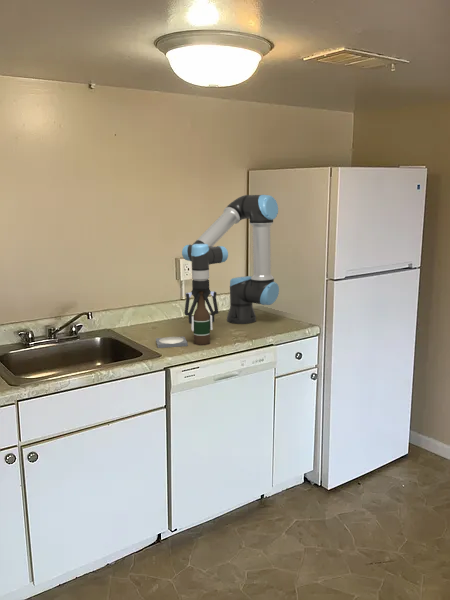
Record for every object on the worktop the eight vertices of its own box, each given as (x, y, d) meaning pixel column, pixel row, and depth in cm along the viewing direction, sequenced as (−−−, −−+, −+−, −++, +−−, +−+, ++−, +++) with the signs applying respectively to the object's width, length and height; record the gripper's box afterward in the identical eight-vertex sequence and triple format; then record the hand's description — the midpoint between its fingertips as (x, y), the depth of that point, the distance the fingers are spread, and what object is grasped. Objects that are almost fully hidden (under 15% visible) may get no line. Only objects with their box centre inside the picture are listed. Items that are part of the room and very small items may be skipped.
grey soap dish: (184, 339, 255) (184, 336, 255) (187, 346, 245) (187, 342, 244) (156, 341, 253) (155, 337, 253) (157, 348, 242) (157, 344, 242)
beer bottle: (197, 346, 244) (195, 292, 239) (190, 342, 251) (189, 289, 246) (213, 344, 247) (212, 291, 242) (206, 340, 254) (205, 288, 249)
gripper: (221, 277, 249) (222, 326, 253) (176, 279, 245) (177, 329, 249) (225, 279, 242) (225, 330, 246) (178, 281, 238) (180, 333, 242)
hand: (201, 329), depth 248 cm, fingers closed on beer bottle, 8 cm apart
